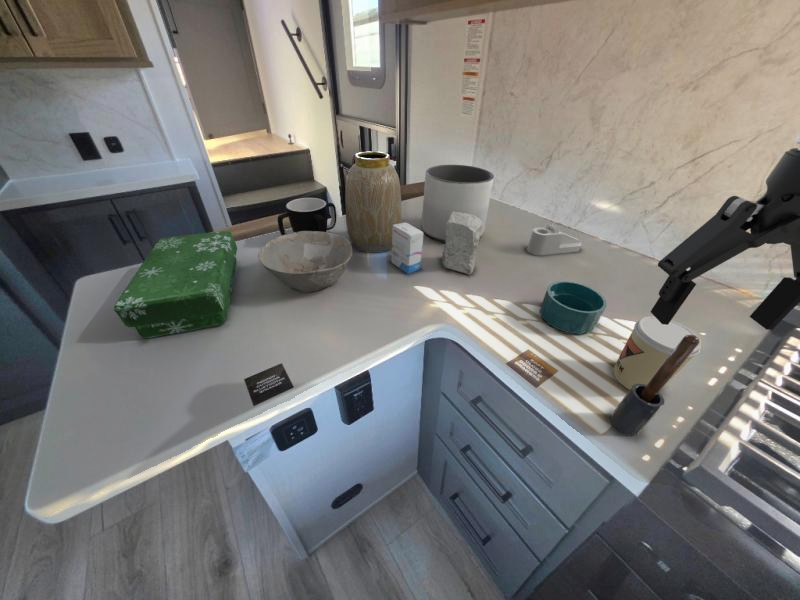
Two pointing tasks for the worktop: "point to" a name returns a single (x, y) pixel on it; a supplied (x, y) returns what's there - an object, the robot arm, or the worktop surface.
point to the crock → (635, 411)
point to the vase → (372, 202)
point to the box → (181, 285)
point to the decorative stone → (461, 242)
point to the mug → (308, 215)
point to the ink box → (407, 247)
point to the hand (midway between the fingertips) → (709, 320)
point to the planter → (454, 196)
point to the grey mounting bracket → (551, 241)
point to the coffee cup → (650, 350)
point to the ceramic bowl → (306, 259)
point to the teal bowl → (572, 307)
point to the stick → (669, 367)
